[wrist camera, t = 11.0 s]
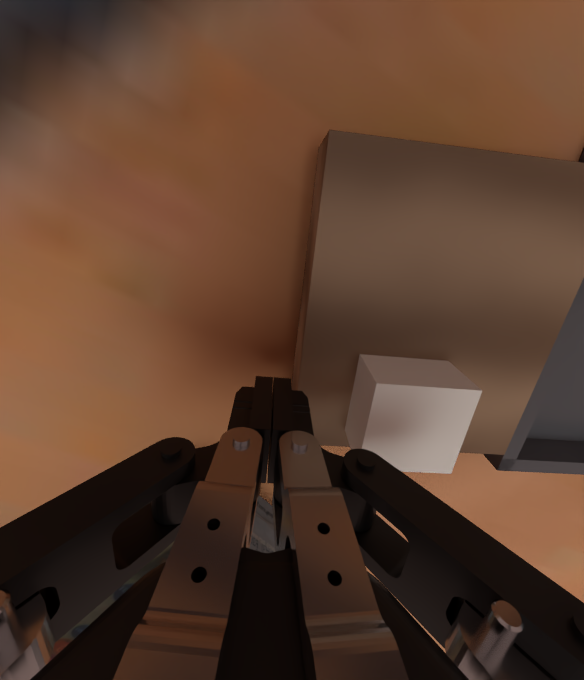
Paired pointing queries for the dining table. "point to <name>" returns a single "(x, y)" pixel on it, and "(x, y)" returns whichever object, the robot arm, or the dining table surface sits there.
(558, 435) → the tray
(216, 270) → the dining table surface
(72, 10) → the dining table surface
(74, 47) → the dining table surface
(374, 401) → the tile
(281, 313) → the dining table surface
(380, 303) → the flat wooden board
